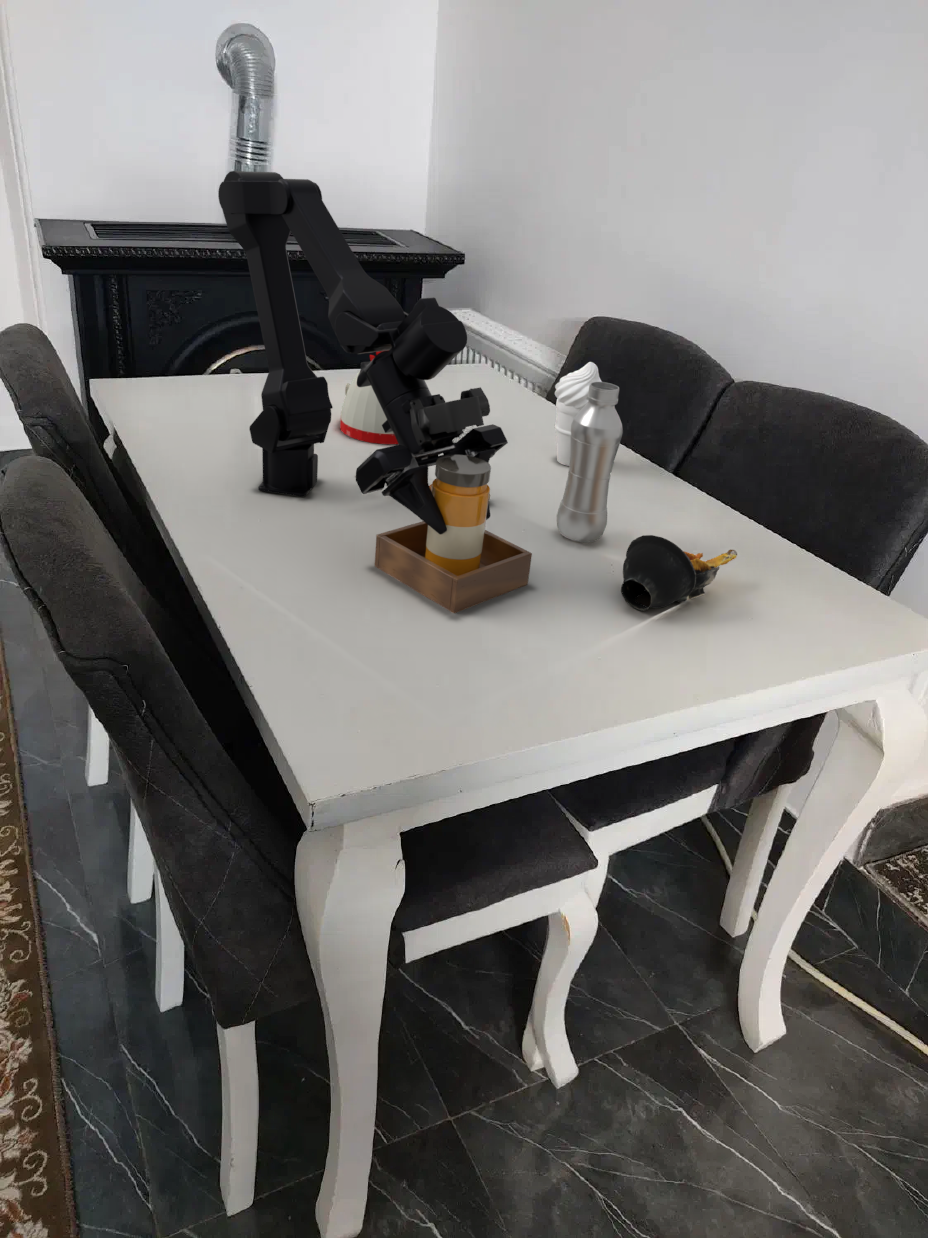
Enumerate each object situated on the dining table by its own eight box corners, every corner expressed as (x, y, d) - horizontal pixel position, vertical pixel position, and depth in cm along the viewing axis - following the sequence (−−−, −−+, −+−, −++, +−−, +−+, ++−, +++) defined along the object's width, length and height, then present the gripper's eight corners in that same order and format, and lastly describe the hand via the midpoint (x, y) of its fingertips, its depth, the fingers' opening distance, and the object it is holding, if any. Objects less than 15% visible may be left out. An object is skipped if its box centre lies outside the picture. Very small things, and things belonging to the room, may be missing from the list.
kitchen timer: (441, 431, 153) (449, 339, 145) (392, 450, 142) (398, 352, 135) (374, 411, 159) (378, 322, 151) (322, 428, 148) (324, 333, 141)
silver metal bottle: (572, 551, 117) (598, 395, 107) (544, 529, 122) (567, 379, 112) (613, 545, 119) (643, 393, 110) (584, 524, 124) (610, 377, 115)
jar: (411, 570, 106) (422, 459, 100) (452, 557, 110) (464, 450, 104) (449, 592, 103) (462, 479, 96) (489, 578, 107) (505, 468, 100)
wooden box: (374, 568, 107) (376, 534, 105) (448, 545, 114) (451, 512, 112) (453, 616, 99) (457, 580, 97) (527, 587, 107) (532, 553, 104)
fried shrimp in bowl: (589, 562, 103) (670, 479, 112) (622, 640, 108) (696, 555, 117) (658, 564, 96) (737, 476, 106) (689, 647, 101) (762, 556, 110)
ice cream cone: (537, 463, 144) (552, 361, 136) (553, 449, 150) (567, 350, 143) (588, 475, 141) (606, 371, 133) (602, 460, 148) (620, 360, 140)
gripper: (377, 373, 91) (444, 514, 90) (505, 354, 103) (566, 478, 102) (327, 427, 100) (387, 556, 99) (451, 404, 112) (506, 519, 111)
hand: (465, 525), depth 102 cm, fingers closed on jar, 6 cm apart
